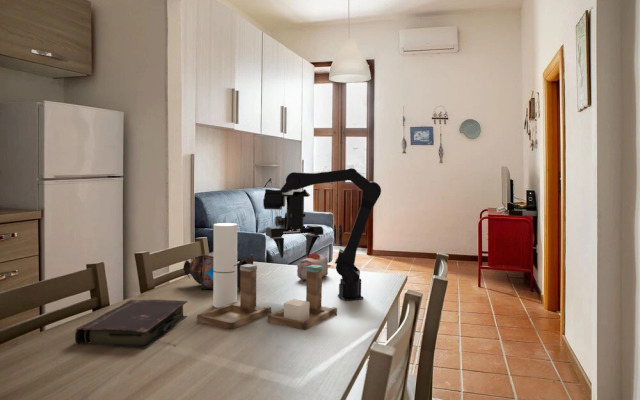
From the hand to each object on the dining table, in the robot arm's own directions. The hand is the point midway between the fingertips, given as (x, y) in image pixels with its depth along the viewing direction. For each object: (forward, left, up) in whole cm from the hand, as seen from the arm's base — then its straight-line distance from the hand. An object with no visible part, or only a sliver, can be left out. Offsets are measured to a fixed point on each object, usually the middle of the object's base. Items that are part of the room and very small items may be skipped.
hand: (294, 256), depth 160 cm
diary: (+51, +14, -14) cm, 54 cm away
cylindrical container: (+24, +2, -13) cm, 27 cm away
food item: (-16, -20, -13) cm, 29 cm away
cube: (+11, +28, -12) cm, 32 cm away
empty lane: (+25, +18, -13) cm, 34 cm away
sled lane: (+8, +26, -13) cm, 30 cm away
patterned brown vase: (+20, -22, -13) cm, 32 cm away
